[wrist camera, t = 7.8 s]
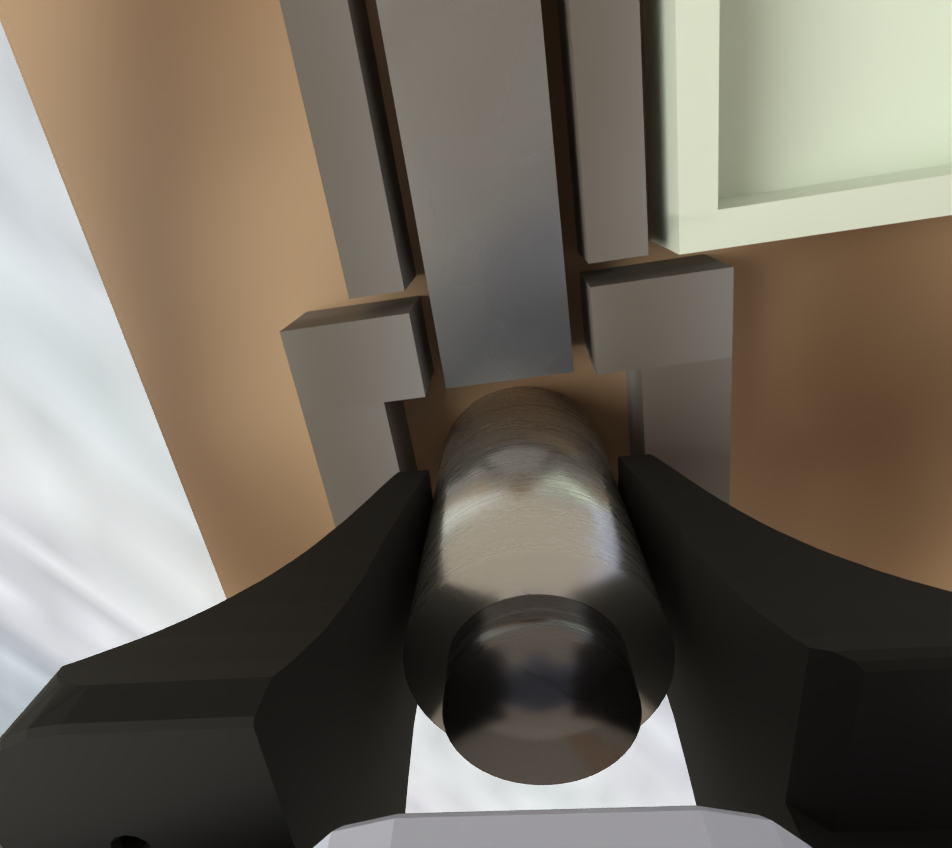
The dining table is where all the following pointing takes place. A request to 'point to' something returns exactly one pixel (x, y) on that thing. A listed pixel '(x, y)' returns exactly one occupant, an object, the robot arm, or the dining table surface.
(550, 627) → the peg
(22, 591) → the dining table surface
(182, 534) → the dining table surface
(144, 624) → the dining table surface
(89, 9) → the holder
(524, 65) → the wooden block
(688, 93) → the tray
